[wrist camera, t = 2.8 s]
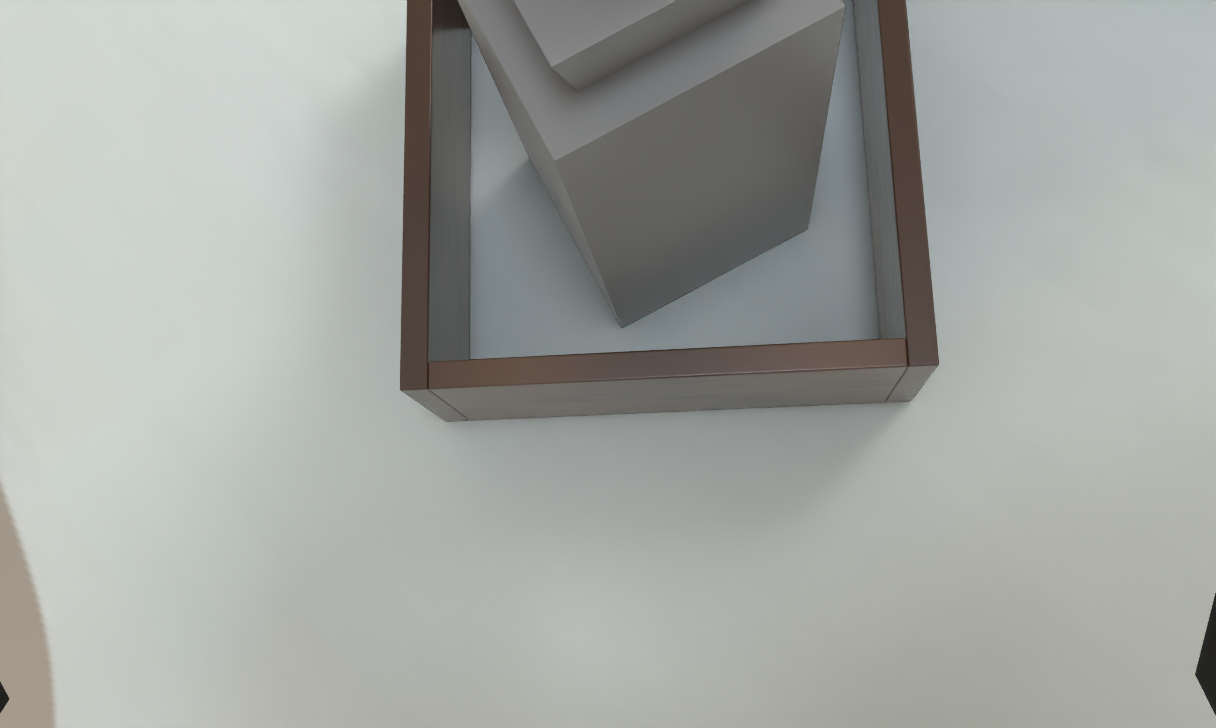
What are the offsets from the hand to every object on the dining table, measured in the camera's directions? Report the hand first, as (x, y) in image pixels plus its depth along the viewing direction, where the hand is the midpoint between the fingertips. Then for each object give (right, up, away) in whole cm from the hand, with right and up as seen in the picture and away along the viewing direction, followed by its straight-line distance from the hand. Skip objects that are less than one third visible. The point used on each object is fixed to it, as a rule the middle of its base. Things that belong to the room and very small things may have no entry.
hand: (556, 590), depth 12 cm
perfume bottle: (+2, +8, +26) cm, 27 cm away
